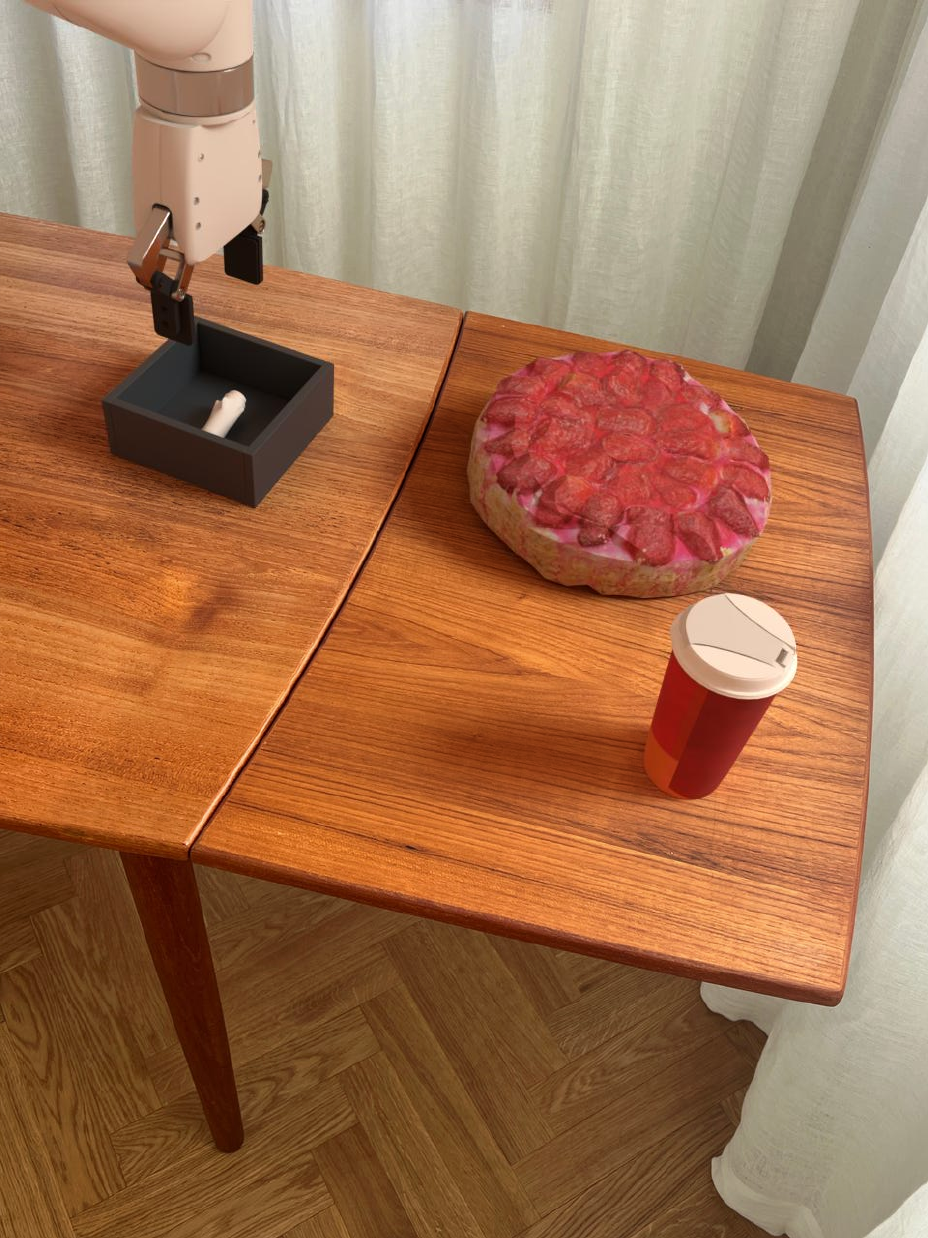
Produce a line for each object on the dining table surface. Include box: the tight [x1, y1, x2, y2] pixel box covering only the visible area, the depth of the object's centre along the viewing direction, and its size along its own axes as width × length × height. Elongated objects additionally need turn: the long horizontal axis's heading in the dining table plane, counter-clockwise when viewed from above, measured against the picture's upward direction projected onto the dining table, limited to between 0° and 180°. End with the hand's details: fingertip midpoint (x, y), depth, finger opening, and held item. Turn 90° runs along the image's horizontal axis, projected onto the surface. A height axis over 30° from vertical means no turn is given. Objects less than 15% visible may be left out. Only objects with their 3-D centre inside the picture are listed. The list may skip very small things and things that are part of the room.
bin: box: [100, 315, 335, 509], centre depth 93 cm, size 14×14×6 cm
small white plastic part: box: [202, 390, 246, 438], centre depth 93 cm, size 4×6×3 cm, turn 134°
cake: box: [466, 348, 773, 599], centre depth 91 cm, size 25×25×8 cm
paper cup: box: [643, 592, 798, 800], centre depth 71 cm, size 8×8×14 cm
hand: (211, 307), depth 85 cm, fingers open, 9 cm apart
